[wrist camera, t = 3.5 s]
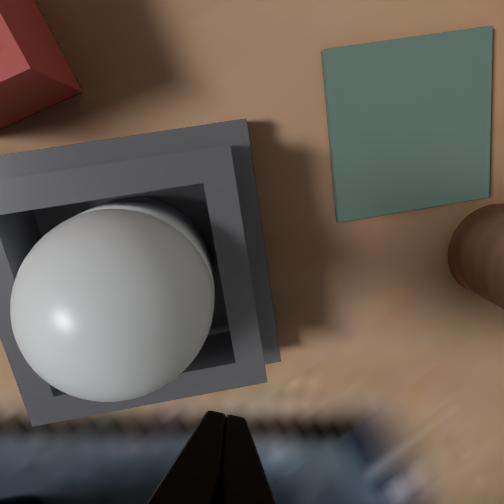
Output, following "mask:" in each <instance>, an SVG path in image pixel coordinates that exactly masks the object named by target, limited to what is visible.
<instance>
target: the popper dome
mask: <svg viewBox="0 0 504 504" xmlns="http://www.w3.org/2000/svg"><path fill="white" fill-rule="evenodd" d="M213 312H214V264H213V258H212V254H211V250H210V248H209V245H208V243H207V241H206V239H205V237H204V236H203V234H202V233H201V231H200V230H199V229H198V227H197V226H196V225H195V224H194V223H193V222H192V221H191V220H190V219H189V218H188V217H187V216H186V215H184V214H183V213H182V212H180V211H179V210H177V209H175V208H174V207H172V206H170V205H167V204H165V203H163V202H160V201H156V200H153V199H148V198H142V197H126V198H118V199H114V200H110V201H107V202H104V203H102V204H99V205H97V206H95V207H93V208H91V209H88V210H86V211H84V212H82V213H80V214H78V215H76V216H74V217H71V218H70V219H68V220H66V221H64V222H62V223H60V224H59V225H57V226H56V227H55V228H53V229H52V230H50V231H49V232H48V233H46V234H45V235H44V236H43V237H42V238H41V239H40V240H39V241H38V242H37V243H36V244H35V245H34V247H33V248H32V249H31V251H30V252H29V253H28V255H27V256H26V257H25V259H24V261H23V262H22V264H21V266H20V268H19V270H18V273H17V276H16V279H15V282H14V285H13V288H12V294H11V301H10V317H11V325H12V330H13V334H14V337H15V340H16V342H17V345H18V347H19V349H20V351H21V353H22V355H23V356H24V358H25V360H26V361H27V363H28V364H29V365H30V366H31V368H32V369H33V370H34V371H35V372H36V373H37V374H38V375H39V376H40V377H41V378H42V379H43V380H45V381H46V382H47V383H49V384H50V385H52V386H53V387H55V388H57V389H58V390H60V391H62V392H64V393H67V394H69V395H71V396H74V397H77V398H81V399H85V400H90V401H98V402H117V401H124V400H130V399H134V398H138V397H142V396H144V395H147V394H150V393H152V392H154V391H156V390H158V389H160V388H162V387H163V386H165V385H167V384H168V383H170V382H171V381H173V380H174V379H175V378H177V377H178V376H179V375H180V374H181V373H182V372H183V371H184V370H185V369H186V368H187V367H188V366H189V365H190V364H191V362H192V361H193V360H194V359H195V358H196V356H197V354H198V353H199V351H200V350H201V348H202V346H203V344H204V342H205V340H206V338H207V336H208V333H209V330H210V327H211V324H212V318H213Z"/></svg>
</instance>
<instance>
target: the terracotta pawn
mask: <svg viewBox="0 0 504 504" xmlns="http://www.w3.org/2000/svg"><path fill="white" fill-rule="evenodd" d="M448 264H449V268H450V271H451V273H452V275H453V277H454V278H455V279H456V281H457V282H458V283H459V284H460V285H462V286H463V287H465V288H467V289H468V290H470V291H472V292H474V293H476V294H478V295H479V296H481V297H483V298H485V299H487V300H489V301H491V302H492V303H494V304H496V305H498V306H500V307H502V308H503V309H504V204H492V205H488V206H485V207H482V208H480V209H478V210H476V211H474V212H473V213H471V214H470V215H469V216H467V217H466V218H465V219H464V220H463V221H462V222H461V223H460V225H459V226H458V227H457V229H456V231H455V232H454V234H453V236H452V238H451V241H450V244H449V249H448Z"/></svg>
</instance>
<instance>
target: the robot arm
mask: <svg viewBox="0 0 504 504" xmlns="http://www.w3.org/2000/svg"><path fill="white" fill-rule="evenodd" d="M18 504H42V503H40V502H39V501H28V502H23V503H18ZM146 504H276V503H275V500H274V497H273V494H272V492H271V489H270V486H269V483H268V480H267V477H266V475H265V472H264V469H263V466H262V463H261V461H260V458H259V455H258V452H257V449H256V446H255V444H254V441H253V438H252V435H251V432H250V430H249V427H248V424H247V421H246V420H245V419H244V418H243V417H239V416H234V415H227V416H225V414H223V413H219V412H214V411H208V412H206V414H205V415H204V417H203V418H202V420H201V421H200V423H199V424H198V426H197V427H196V429H195V430H194V432H193V433H192V435H191V436H190V438H189V439H188V441H187V442H186V444H185V445H184V447H183V448H182V450H181V452H180V453H179V455H178V456H177V458H176V459H175V461H174V462H173V464H172V465H171V467H170V468H169V470H168V471H167V473H166V474H165V476H164V477H163V479H162V480H161V482H160V483H159V485H158V487H157V488H156V490H155V491H154V493H153V494H152V496H151V497H150V499H149V500H148V502H147V503H146Z"/></svg>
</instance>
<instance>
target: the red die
mask: <svg viewBox="0 0 504 504" xmlns="http://www.w3.org/2000/svg"><path fill="white" fill-rule="evenodd" d="M81 92H82V90H81V88H80V86H79V84H78V83H77V81H76V79H75V77H74V75H73V73H72V71H71V69H70V67H69V65H68V63H67V61H66V59H65V58H64V56H63V54H62V52H61V50H60V48H59V46H58V44H57V42H56V40H55V38H54V36H53V35H52V33H51V31H50V29H49V27H48V25H47V23H46V21H45V19H44V17H43V15H42V13H41V12H40V10H39V8H38V6H37V4H36V2H35V0H0V129H2V128H4V127H6V126H8V125H10V124H13V123H15V122H17V121H19V120H21V119H24V118H26V117H28V116H30V115H32V114H35V113H37V112H39V111H41V110H43V109H45V108H48V107H50V106H52V105H54V104H56V103H59V102H61V101H63V100H65V99H67V98H70V97H72V96H74V95H76V94H78V93H81Z"/></svg>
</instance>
